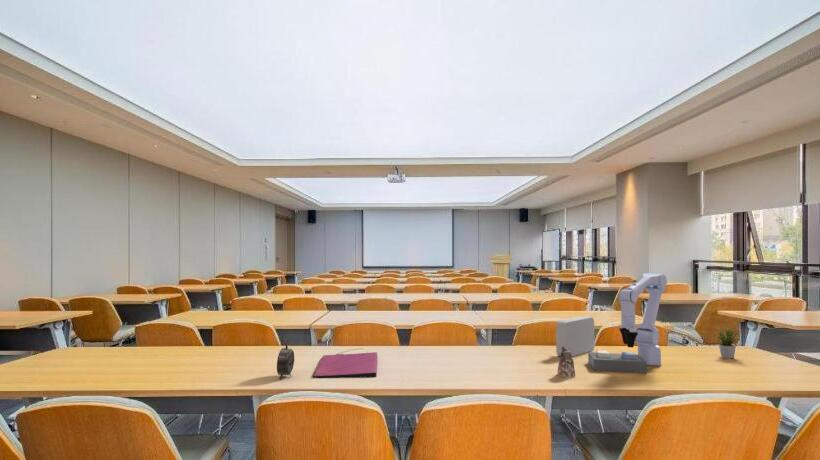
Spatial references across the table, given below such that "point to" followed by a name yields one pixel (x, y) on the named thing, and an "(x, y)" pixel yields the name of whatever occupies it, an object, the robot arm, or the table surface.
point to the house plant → (727, 343)
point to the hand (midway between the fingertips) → (628, 345)
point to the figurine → (566, 364)
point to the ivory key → (603, 354)
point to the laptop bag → (347, 365)
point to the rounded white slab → (575, 335)
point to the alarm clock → (285, 361)
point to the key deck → (617, 363)
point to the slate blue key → (628, 355)
